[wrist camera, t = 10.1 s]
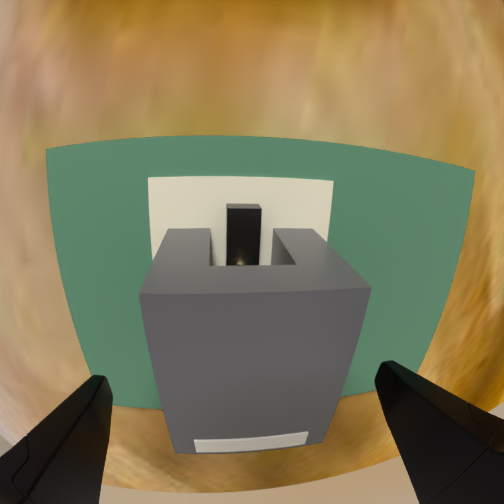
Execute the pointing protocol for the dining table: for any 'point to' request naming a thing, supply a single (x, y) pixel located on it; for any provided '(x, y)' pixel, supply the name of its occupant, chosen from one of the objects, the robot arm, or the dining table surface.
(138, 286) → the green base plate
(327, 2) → the dining table surface
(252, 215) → the header pins
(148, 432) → the dining table surface
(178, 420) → the block
